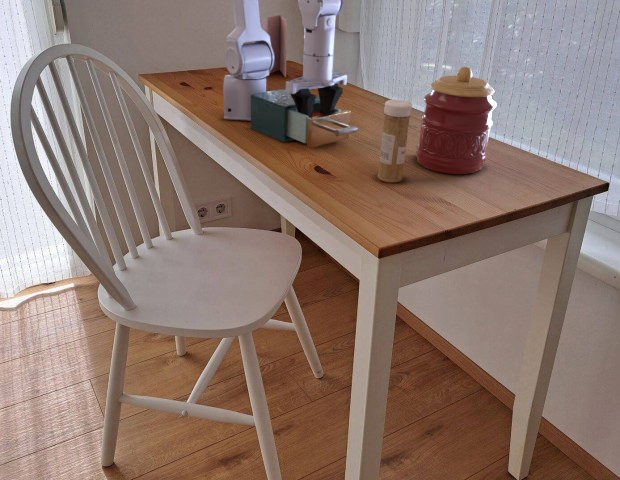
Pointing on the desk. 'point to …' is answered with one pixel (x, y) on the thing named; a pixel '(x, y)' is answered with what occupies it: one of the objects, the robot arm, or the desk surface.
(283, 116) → the teal box
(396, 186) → the desk surface
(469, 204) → the desk surface
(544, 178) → the desk surface
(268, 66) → the robot arm
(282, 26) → the greeting card
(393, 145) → the sprinkles bottle
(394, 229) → the desk surface
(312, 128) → the drawer
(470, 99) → the kitchen canister
